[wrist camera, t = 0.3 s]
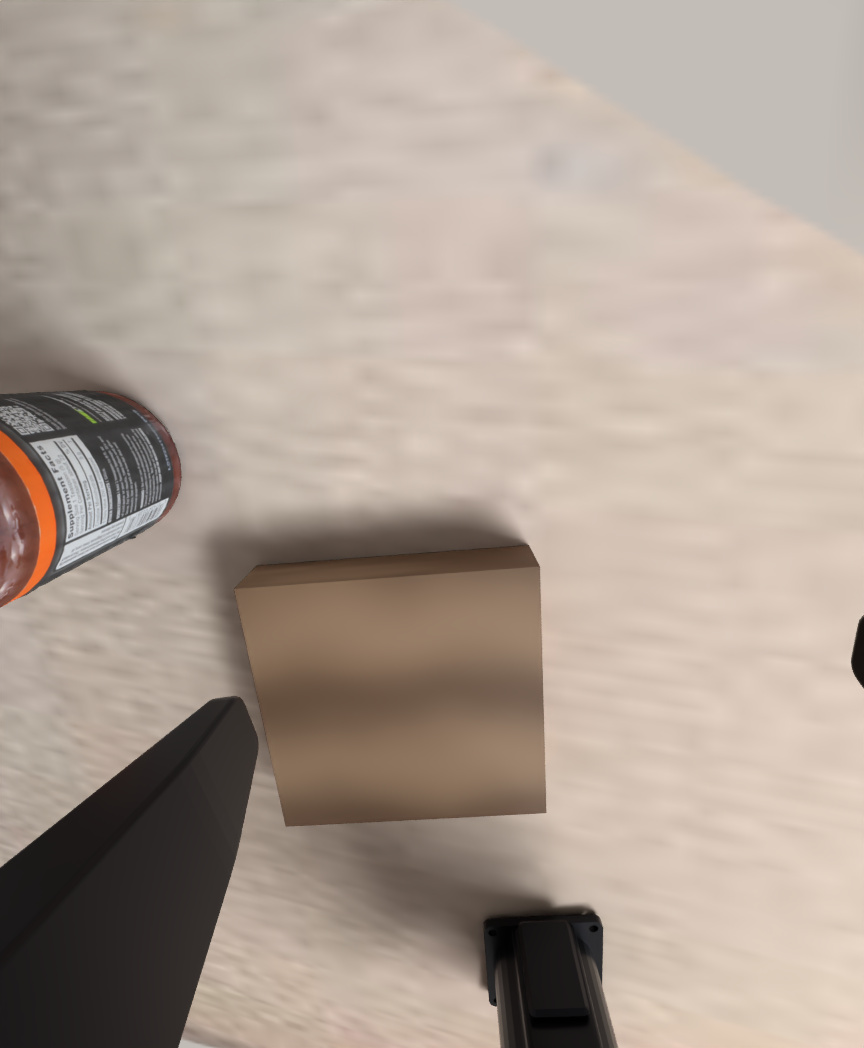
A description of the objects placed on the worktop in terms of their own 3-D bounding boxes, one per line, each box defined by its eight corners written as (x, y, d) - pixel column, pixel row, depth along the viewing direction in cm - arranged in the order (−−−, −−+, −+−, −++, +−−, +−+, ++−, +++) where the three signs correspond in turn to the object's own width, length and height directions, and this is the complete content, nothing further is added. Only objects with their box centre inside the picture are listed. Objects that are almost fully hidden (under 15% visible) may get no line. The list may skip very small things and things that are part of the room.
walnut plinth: (536, 770, 25) (546, 813, 22) (300, 783, 25) (285, 826, 23) (528, 545, 21) (539, 566, 19) (256, 565, 22) (233, 588, 19)
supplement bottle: (54, 523, 22) (-339, 672, 11) (37, 382, 20) (-453, 389, 9) (191, 537, 22) (-61, 700, 11) (186, 398, 20) (-121, 424, 9)
